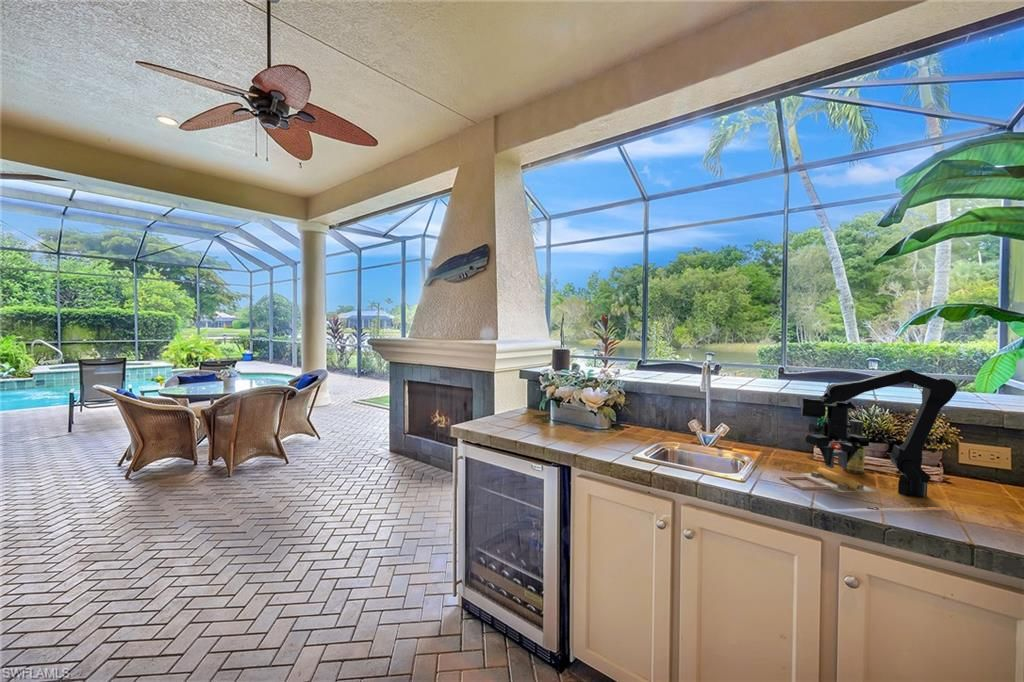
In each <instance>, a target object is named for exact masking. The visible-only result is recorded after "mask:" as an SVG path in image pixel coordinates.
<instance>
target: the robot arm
mask: <svg viewBox="0 0 1024 682" xmlns="http://www.w3.org/2000/svg"><path fill="white" fill-rule="evenodd" d="M903 383H909V384H912V385H915V386H918V387H921V388H922V389H921V405H920V406H919V409H918V411H917V413H916V415H915V417H914V420H913V422H912V424H911V427H910V429H909V431H908V433H907V436H906V438H905V439H904V441H903V443H902V444H900V445H897V444H893V446H892V451H891V452H890V453H889V454H888V456H890V463H891V464H892V465H893V466H894V467H895V468H896V469H897V470H898V471H899V473H900V475H899V477H898V478H899V479H898V482H897V483H898V486H897V493H898V494H900V495H901V496H902V495H903V496H905V497H910V498H911V497H912V498H919V499H925V498H926V497H927V496H928V483H929V482H930V480H931V478H932V477H931V476H930V475H929V474H928V473H927V472H926V471H924V470H923V469H922V464H923V448H924V446H925V444H926V442H927V440H928V437H929V435H930V433H931V431H932V429H933V426H934V425H935V422H936V420H937V418H938V416H939V413H940V411H941V410H942V408H944V406H945V405H947V404H948V403H949V402H950V401H951V400H952V398H953V397H954V396H955V395H956V394H957V390H958V386H957V385H956V383H955V382H953V381H952V380H951V379H948V378H942V377H939V376H938V377H937V376H934V377H931V376H928V375H926V374H922V373H919V372H917V371H914V370H912V369H911V368H910V369H909V368H900V369H898V370H896V371H891V372H888V373H884V374H880V375H877V376H872V377H868V378H865V379H861V380H857V381H845V382H844V381H843V382H836V383H831V384H830V385H828V387H827V389H826V392H825V393H824V394H823V395H822V396H821V397H819V399H818V398H817V399H816V398H809V397H802V401H801V406H800V416H801V418H811V419H812V418H813V419H821V420H822V418H823V417H826V421H825V420H824V421H823V422H822V425H819V424H817V423H808V431H809V433H810V434H807V435H806V436H805V443H808V444H810V445H813V446H816V447H817V448H818V449H819V450H820V453H821V455H822V457H823V460H824V463H826V465H830V463H831V459H832V455H833V451H834V450H835V447H834V446H831V445H832V444H839V446H840V447H841V450H842V451H845V452H847V463H848V462H849V461H850V459H851V458H852V457H853V455H854V454H855V453H856V452H857V451H858V450H859V449H861V447H859V446H858V444H859V445H860V446H865V447H869V446H870V440H869V438H868V437H866V436H864V435H863V436H864V437H863V436H859V435H856V434H848V432H849V429H850V428H851V425H850V423H849V410H851V409H852V410H856V409H857V407H856V406H855V405H854V404H853V403H852V401H850V400H852V399H854V398H855V397H857V396H860V395H861V394H864V393H866V392H870V391H875V390H878V389H879V390H880V389H882V388H883V389H884V388H887V387H891V386H895V385H899V384H903ZM826 408H827V409H826ZM811 433H813V434H811ZM857 443H858V444H857Z"/></svg>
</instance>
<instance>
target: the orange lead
mask: <svg viewBox="0 0 1024 682" xmlns="http://www.w3.org/2000/svg"><path fill="white" fill-rule="evenodd" d="M816 472H817V473H820V476H822V477H825V478H827V479H829V480H832V481H834V482H836V483H843V484H846V485H848V488H850V489H856V488H857V487H858V483H859V482H857V481H856V480H854V479H851V478H850V477H848V476H844V475H841V474H840V473H837V472H835V471H831V470H829V469H827V468H825V467H818V468H817V469H816Z"/></svg>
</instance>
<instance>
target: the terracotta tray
mask: <svg viewBox="0 0 1024 682" xmlns="http://www.w3.org/2000/svg"><path fill="white" fill-rule="evenodd" d="M779 480H782V481H784V482H786V483H788V485H789V484H790V485H792V486H794V487H795V488H798V489H800V490H802V491H803V490H804V491H805V490H807V491H809V490H810V491H811V490H813V491H814V490H832V488H831V487H830V486H828V485H826V484H823V483H821V482H819V481H817V480H814V479H812V478H810V477H808V476H803V475H789V476H788V475H785V476H783V475H781V476H779ZM793 480H807V481H809V482H811V483H813V484H816V485H801V484H799V483H797V482H794V481H793Z"/></svg>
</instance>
